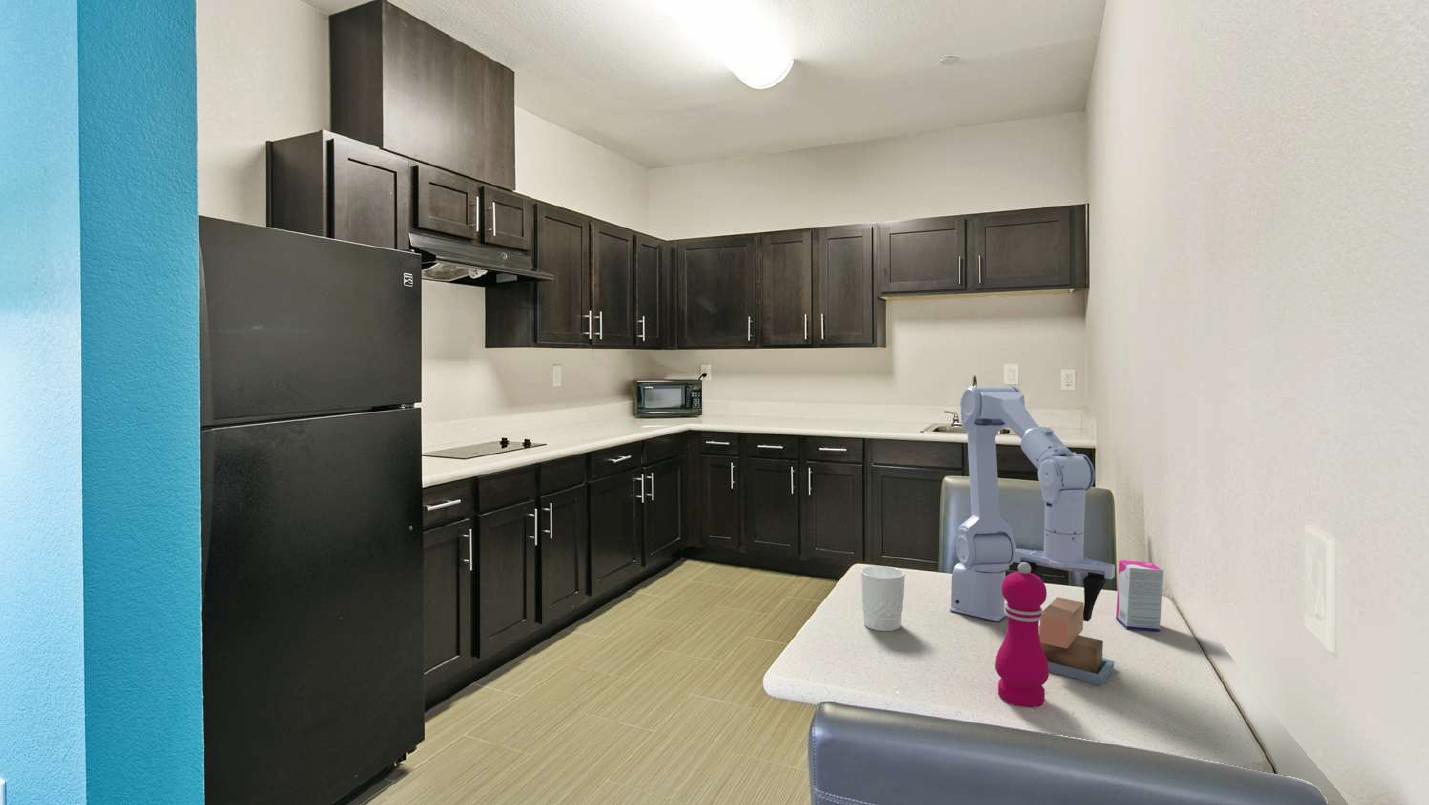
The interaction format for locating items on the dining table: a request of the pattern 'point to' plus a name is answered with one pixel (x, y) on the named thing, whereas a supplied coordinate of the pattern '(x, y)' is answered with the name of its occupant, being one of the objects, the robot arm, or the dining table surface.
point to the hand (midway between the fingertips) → (1061, 613)
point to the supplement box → (1139, 595)
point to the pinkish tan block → (1061, 622)
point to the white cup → (882, 597)
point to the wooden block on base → (1076, 654)
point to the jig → (1084, 672)
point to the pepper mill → (1022, 641)
